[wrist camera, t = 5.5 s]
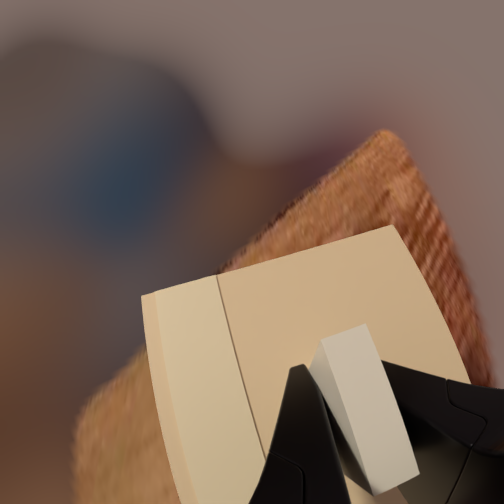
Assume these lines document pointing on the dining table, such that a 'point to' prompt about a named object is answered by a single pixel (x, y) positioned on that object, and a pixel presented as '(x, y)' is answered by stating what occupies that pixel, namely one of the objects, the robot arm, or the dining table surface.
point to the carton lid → (294, 363)
